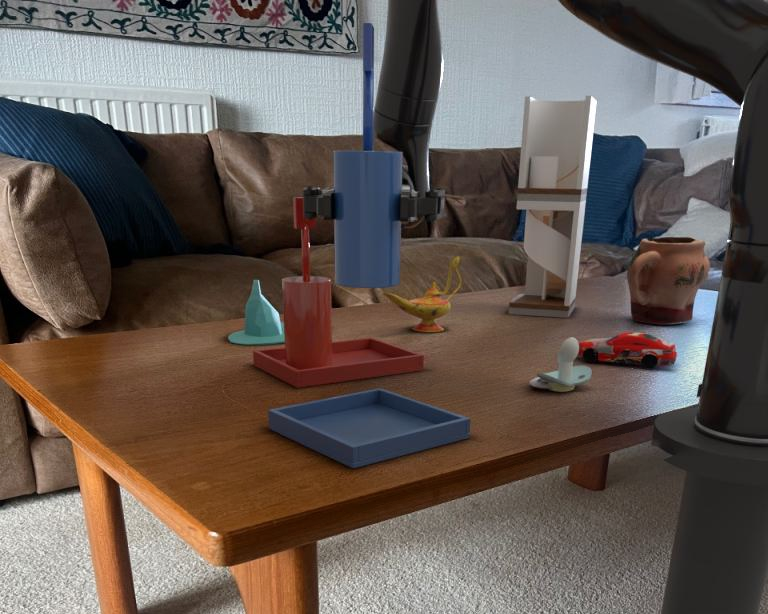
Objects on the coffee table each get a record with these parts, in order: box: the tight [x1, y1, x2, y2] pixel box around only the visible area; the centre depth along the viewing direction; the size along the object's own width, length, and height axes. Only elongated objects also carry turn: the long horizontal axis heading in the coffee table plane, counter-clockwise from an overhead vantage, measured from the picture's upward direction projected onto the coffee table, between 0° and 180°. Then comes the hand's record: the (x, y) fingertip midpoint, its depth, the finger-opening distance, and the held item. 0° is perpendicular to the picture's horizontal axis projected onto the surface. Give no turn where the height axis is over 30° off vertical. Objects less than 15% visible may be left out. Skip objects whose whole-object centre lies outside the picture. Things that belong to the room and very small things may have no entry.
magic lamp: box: [378, 256, 462, 333], centre depth 124 cm, size 7×18×11 cm, turn 132°
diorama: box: [227, 279, 285, 346], centre depth 121 cm, size 12×20×9 cm, turn 149°
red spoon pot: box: [281, 196, 333, 370], centre depth 96 cm, size 6×6×20 cm
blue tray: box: [267, 387, 471, 469], centre depth 77 cm, size 14×14×2 cm
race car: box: [577, 331, 678, 370], centre depth 106 cm, size 13×5×4 cm, turn 64°
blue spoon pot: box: [332, 21, 404, 289], centre depth 67 cm, size 6×6×20 cm
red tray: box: [252, 337, 425, 389], centre depth 102 cm, size 18×13×2 cm
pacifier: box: [529, 336, 593, 393], centre depth 93 cm, size 7×6×6 cm
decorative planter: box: [626, 236, 711, 325], centre depth 133 cm, size 20×12×14 cm, turn 137°
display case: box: [508, 95, 598, 319], centre depth 138 cm, size 11×11×35 cm
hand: (365, 207), depth 67 cm, fingers closed on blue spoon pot, 6 cm apart
